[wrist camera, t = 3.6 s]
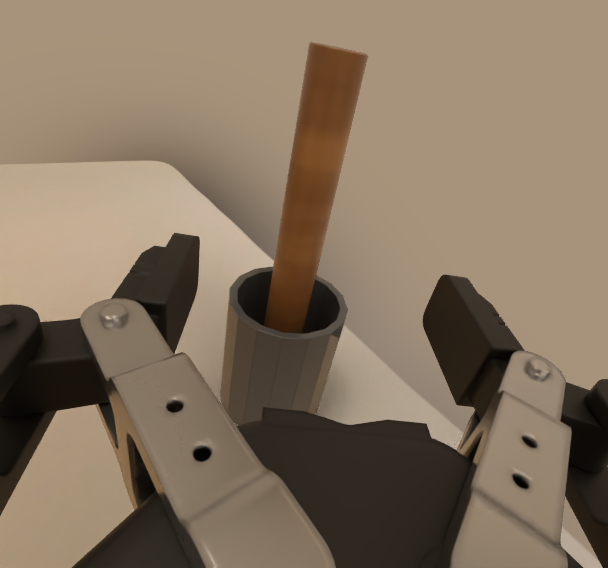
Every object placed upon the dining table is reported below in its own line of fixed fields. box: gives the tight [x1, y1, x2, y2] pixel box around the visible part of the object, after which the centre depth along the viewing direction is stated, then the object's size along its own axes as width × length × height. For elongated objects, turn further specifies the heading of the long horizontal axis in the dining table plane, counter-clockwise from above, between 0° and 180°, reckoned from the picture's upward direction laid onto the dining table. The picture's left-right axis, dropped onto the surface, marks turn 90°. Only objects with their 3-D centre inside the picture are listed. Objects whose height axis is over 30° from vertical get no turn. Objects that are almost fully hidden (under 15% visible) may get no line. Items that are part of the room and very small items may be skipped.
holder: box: [221, 267, 348, 426], centre depth 27 cm, size 7×7×9 cm
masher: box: [264, 42, 368, 333], centre depth 23 cm, size 5×5×22 cm
